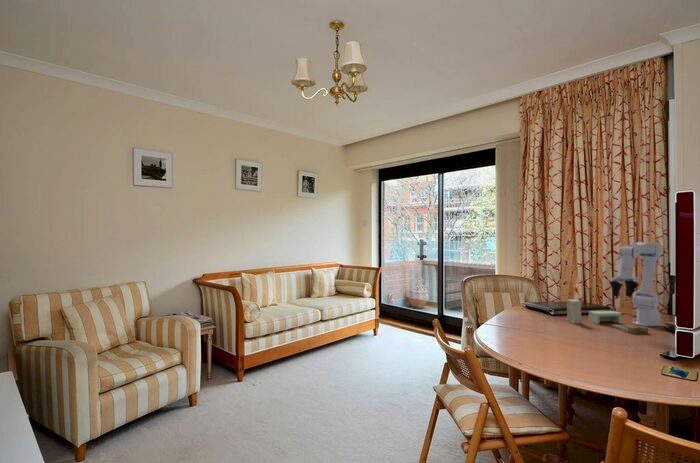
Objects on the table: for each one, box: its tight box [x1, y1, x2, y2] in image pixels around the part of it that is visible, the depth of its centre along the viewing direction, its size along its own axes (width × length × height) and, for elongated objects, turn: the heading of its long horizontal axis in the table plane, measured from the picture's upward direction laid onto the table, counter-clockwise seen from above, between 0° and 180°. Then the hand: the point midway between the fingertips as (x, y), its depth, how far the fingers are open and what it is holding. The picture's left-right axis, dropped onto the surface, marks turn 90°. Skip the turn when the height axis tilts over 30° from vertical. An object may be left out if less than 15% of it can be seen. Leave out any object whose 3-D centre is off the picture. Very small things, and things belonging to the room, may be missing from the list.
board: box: [610, 324, 649, 335], centre depth 180 cm, size 9×12×3 cm
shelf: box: [588, 310, 622, 325], centre depth 196 cm, size 14×6×6 cm, turn 94°
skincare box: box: [566, 298, 582, 325], centre depth 195 cm, size 6×4×12 cm
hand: (621, 296), depth 175 cm, fingers open, 7 cm apart
